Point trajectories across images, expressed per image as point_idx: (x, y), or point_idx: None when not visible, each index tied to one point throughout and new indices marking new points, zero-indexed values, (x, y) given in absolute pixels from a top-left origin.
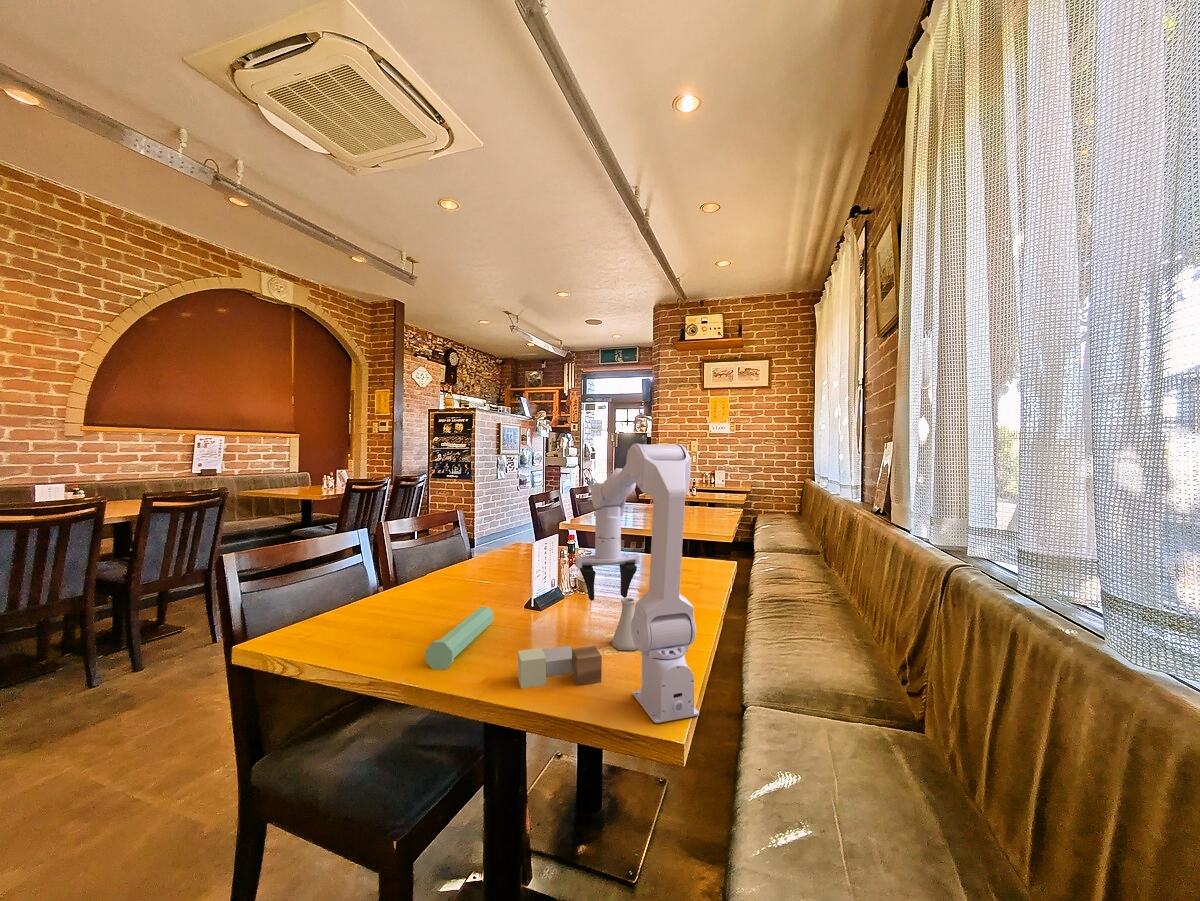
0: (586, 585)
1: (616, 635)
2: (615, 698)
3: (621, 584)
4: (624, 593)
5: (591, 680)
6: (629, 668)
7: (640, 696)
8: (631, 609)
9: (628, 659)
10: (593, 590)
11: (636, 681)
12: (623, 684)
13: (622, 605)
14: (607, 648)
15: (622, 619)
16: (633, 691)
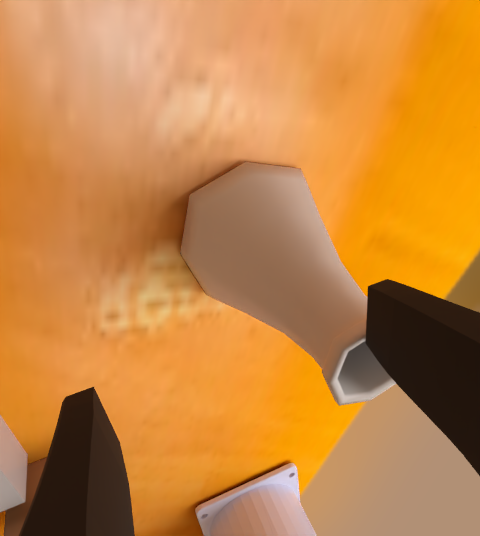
0: (34, 524)
1: (214, 278)
2: (150, 525)
3: (441, 344)
4: (388, 371)
5: None
6: (213, 400)
7: (210, 522)
8: (350, 351)
9: (223, 348)
10: None
11: (217, 454)
12: (179, 474)
13: (318, 357)
14: (156, 270)
15: (275, 320)
16: (198, 512)
